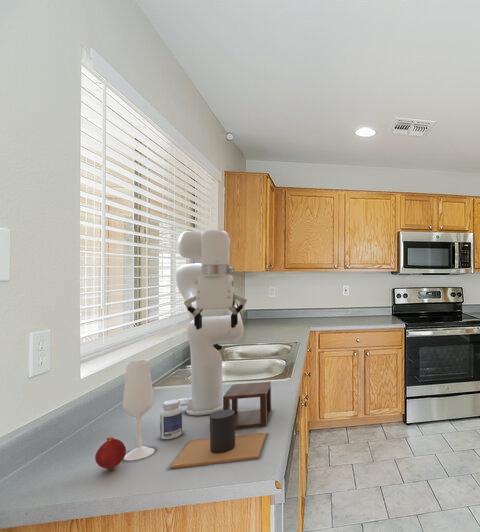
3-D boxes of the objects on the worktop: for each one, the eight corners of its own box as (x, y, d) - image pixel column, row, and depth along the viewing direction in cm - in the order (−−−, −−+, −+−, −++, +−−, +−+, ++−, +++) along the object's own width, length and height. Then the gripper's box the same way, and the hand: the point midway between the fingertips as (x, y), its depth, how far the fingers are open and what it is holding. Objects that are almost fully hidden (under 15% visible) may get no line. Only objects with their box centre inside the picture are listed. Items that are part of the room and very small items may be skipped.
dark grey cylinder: (207, 454, 95) (206, 419, 95) (213, 444, 101) (213, 410, 101) (232, 452, 96) (231, 417, 96) (237, 441, 102) (237, 408, 102)
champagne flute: (160, 447, 101) (159, 358, 101) (143, 460, 94) (142, 364, 94) (135, 448, 100) (133, 359, 100) (116, 461, 94) (115, 365, 94)
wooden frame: (223, 430, 111) (222, 396, 111) (233, 415, 122) (232, 384, 122) (266, 426, 113) (265, 393, 113) (271, 411, 125) (270, 381, 125)
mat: (170, 468, 90) (170, 466, 90) (190, 442, 103) (190, 440, 103) (258, 458, 94) (258, 456, 94) (266, 434, 107) (266, 432, 107)
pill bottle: (186, 432, 109) (186, 399, 109) (170, 440, 104) (169, 406, 104) (172, 430, 111) (172, 397, 111) (155, 438, 106) (155, 404, 106)
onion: (107, 464, 92) (106, 431, 92) (131, 462, 93) (131, 430, 93) (89, 477, 86) (89, 442, 87) (115, 475, 87) (115, 441, 87)
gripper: (248, 270, 118) (249, 324, 118) (188, 271, 114) (189, 327, 114) (243, 270, 110) (244, 328, 110) (179, 271, 107) (180, 331, 107)
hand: (216, 327), depth 112 cm, fingers open, 9 cm apart
